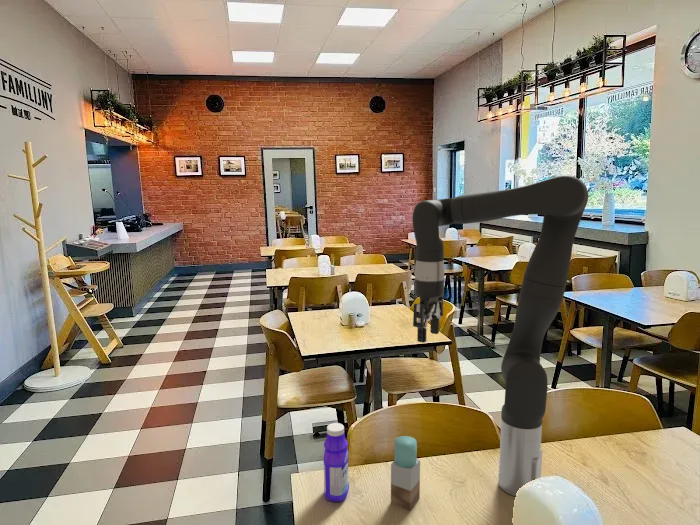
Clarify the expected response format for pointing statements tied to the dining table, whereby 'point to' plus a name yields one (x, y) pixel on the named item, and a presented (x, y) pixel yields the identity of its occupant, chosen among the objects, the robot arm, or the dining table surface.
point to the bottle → (336, 463)
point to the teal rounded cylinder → (405, 451)
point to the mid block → (405, 475)
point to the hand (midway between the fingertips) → (428, 337)
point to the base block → (405, 496)
